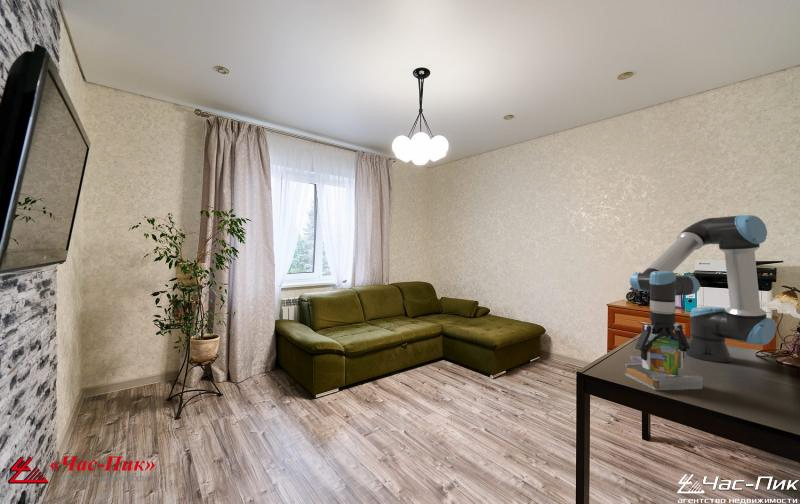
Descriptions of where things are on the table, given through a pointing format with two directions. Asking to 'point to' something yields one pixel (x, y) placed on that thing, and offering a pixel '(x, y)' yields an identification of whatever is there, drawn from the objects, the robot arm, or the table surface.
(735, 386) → the table surface
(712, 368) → the table surface
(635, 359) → the rock
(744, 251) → the robot arm
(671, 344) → the chalk box
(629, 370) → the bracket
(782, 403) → the table surface
